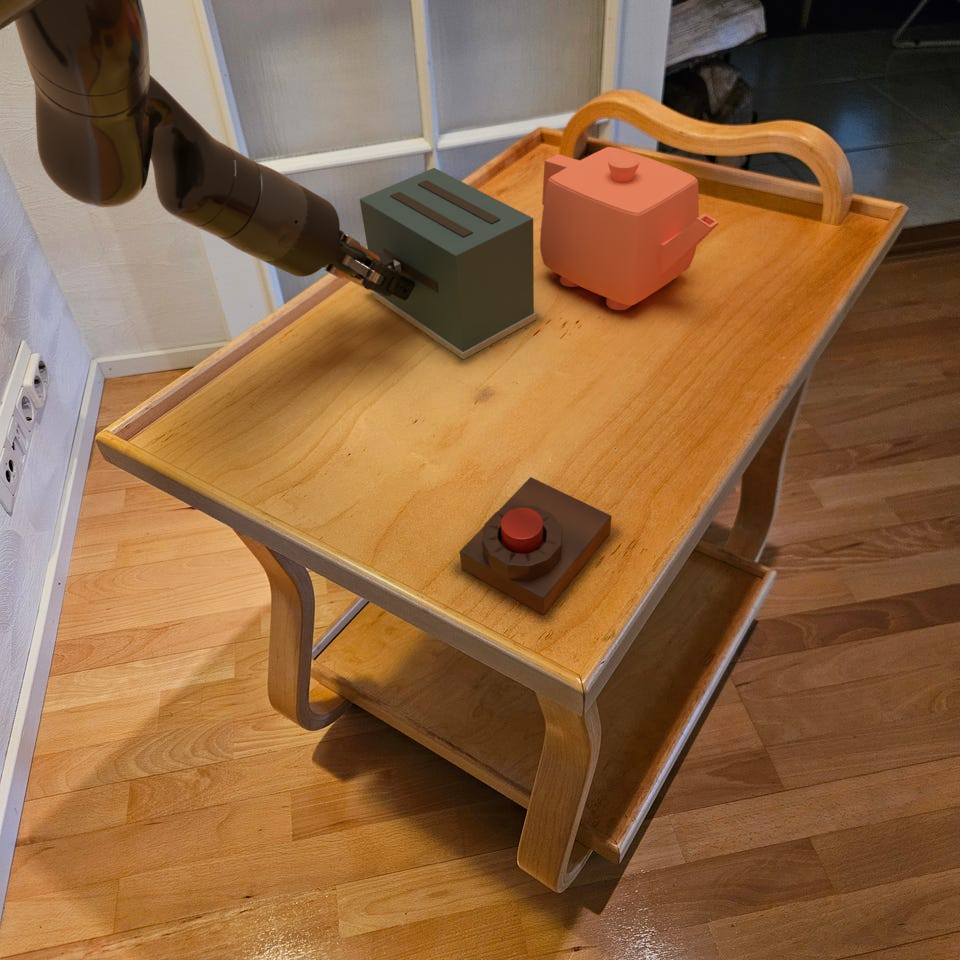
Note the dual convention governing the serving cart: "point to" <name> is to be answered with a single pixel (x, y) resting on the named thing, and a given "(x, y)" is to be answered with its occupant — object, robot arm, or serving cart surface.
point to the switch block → (554, 562)
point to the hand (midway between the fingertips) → (399, 284)
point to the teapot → (619, 223)
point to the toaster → (454, 259)
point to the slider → (389, 263)
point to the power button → (522, 530)
